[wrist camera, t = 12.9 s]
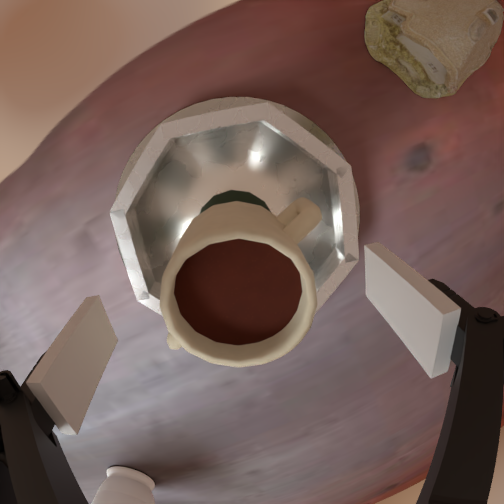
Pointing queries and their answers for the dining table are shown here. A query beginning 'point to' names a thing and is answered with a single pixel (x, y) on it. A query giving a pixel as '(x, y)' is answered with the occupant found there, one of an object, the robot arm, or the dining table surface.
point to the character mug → (241, 281)
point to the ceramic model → (433, 40)
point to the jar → (125, 487)
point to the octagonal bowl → (233, 186)
